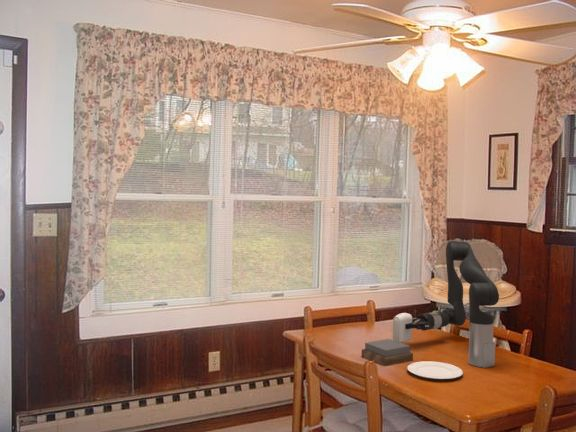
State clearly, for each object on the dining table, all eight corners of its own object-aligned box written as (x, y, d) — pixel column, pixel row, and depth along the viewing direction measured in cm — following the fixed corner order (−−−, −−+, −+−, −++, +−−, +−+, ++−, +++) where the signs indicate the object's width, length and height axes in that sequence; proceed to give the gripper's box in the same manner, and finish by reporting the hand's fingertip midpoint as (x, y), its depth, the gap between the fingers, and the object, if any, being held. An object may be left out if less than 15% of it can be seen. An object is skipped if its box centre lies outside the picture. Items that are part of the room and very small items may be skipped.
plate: (468, 371, 218) (468, 366, 218) (455, 387, 200) (455, 381, 200) (416, 362, 229) (416, 358, 229) (399, 377, 211) (399, 372, 211)
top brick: (409, 353, 231) (409, 345, 231) (385, 357, 224) (385, 350, 224) (388, 345, 242) (388, 338, 242) (365, 349, 235) (365, 342, 235)
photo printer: (405, 337, 252) (406, 310, 251) (413, 339, 248) (413, 312, 248) (391, 341, 245) (391, 314, 244) (399, 344, 242) (399, 315, 241)
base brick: (412, 360, 231) (413, 353, 231) (385, 366, 223) (385, 358, 223) (388, 351, 244) (388, 344, 244) (361, 356, 236) (361, 349, 236)
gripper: (418, 310, 261) (390, 314, 252) (441, 315, 249) (413, 320, 240) (418, 326, 261) (390, 330, 252) (441, 332, 249) (412, 337, 240)
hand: (401, 325), depth 246 cm, fingers closed on photo printer, 5 cm apart
